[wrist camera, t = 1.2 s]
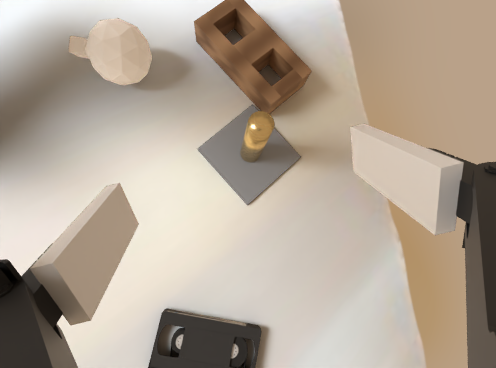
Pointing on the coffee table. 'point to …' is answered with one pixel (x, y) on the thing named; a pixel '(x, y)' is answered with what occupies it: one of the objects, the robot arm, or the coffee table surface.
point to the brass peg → (256, 135)
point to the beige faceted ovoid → (115, 51)
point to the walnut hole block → (251, 53)
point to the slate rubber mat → (239, 171)
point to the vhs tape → (205, 342)
